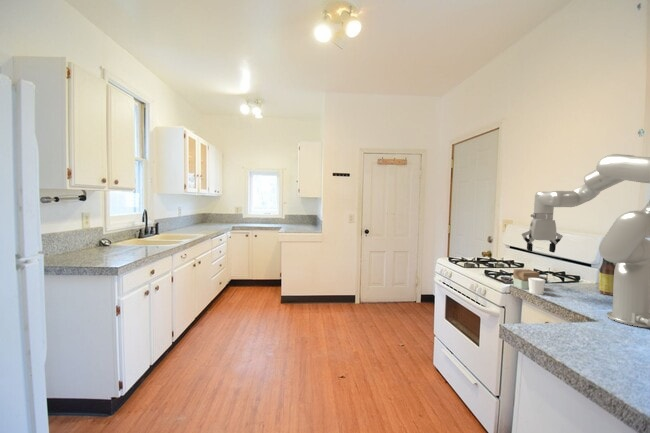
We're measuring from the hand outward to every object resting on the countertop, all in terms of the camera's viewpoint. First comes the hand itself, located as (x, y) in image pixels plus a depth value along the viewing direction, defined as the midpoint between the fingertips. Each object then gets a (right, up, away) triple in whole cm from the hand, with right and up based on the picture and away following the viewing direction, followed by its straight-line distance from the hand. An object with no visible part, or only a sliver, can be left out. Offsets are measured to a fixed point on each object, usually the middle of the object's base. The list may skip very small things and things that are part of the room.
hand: (540, 251), depth 136 cm
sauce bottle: (+33, -21, 0) cm, 39 cm away
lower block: (0, -21, +11) cm, 23 cm away
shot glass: (-1, -21, +1) cm, 21 cm away
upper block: (0, -16, +11) cm, 19 cm away
